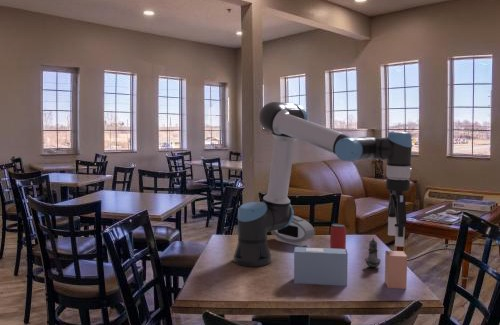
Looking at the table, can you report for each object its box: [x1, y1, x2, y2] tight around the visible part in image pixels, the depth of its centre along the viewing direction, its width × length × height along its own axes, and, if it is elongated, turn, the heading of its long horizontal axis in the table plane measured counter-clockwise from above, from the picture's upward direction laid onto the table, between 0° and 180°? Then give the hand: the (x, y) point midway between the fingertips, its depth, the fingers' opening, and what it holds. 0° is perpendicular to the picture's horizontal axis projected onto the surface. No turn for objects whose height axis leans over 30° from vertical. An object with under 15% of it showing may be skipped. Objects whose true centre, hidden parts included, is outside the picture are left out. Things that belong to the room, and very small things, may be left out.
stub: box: [384, 250, 408, 290], centre depth 143 cm, size 6×6×11 cm
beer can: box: [329, 223, 347, 250], centre depth 183 cm, size 7×7×12 cm
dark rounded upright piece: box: [364, 238, 382, 271], centre depth 160 cm, size 6×6×12 cm
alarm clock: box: [271, 215, 316, 247], centre depth 199 cm, size 23×6×13 cm, turn 43°
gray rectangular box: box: [293, 246, 349, 287], centre depth 147 cm, size 18×6×12 cm, turn 81°
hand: (395, 240), depth 142 cm, fingers open, 13 cm apart
